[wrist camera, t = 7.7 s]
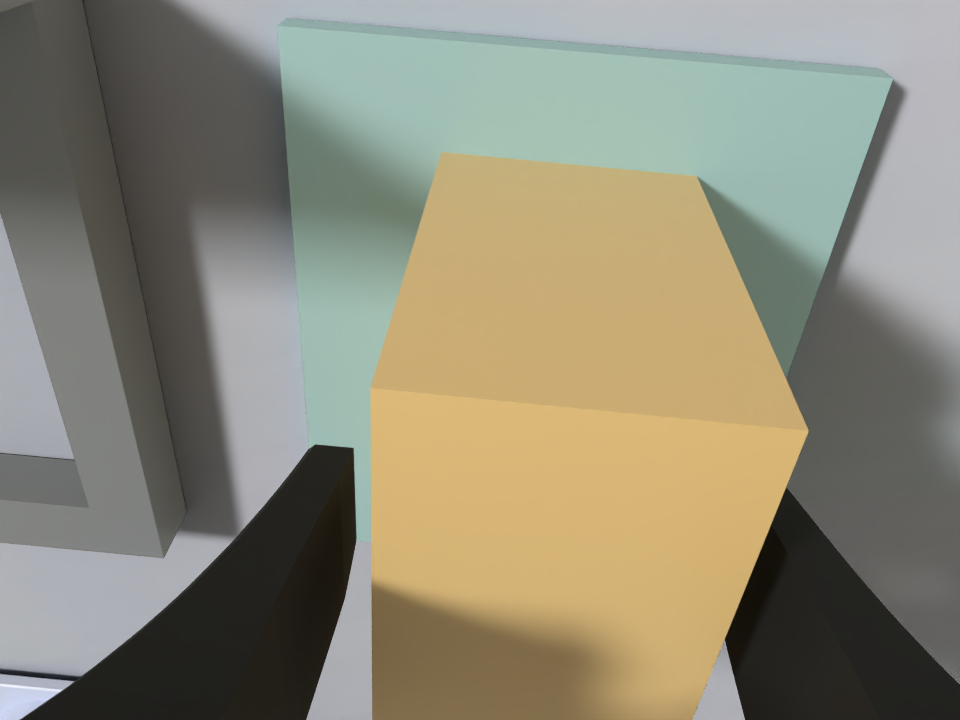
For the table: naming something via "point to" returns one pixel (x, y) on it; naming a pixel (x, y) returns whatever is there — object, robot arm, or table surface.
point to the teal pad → (548, 138)
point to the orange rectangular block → (567, 448)
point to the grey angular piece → (79, 302)
